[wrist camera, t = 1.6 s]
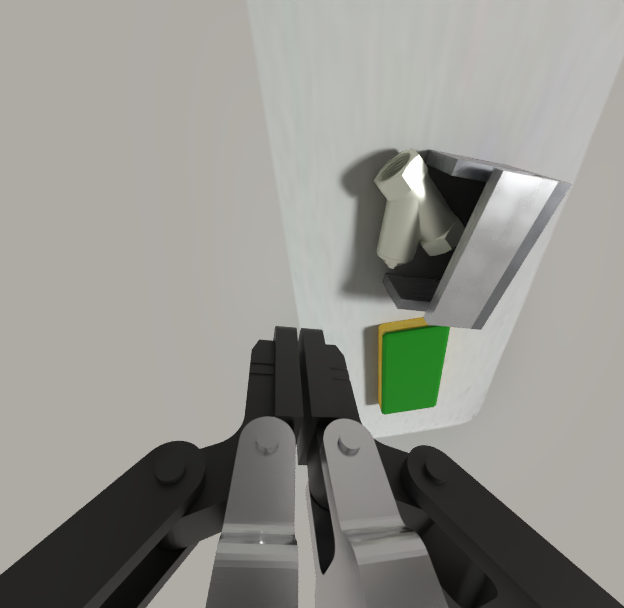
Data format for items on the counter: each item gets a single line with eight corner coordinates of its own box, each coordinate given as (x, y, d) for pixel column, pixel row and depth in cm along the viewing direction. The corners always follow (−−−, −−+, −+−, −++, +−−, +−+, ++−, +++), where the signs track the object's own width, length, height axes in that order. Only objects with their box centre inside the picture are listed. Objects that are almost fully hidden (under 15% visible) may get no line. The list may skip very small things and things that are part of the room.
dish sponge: (440, 311, 33) (451, 325, 31) (428, 392, 41) (436, 407, 39) (377, 321, 33) (383, 335, 31) (377, 400, 41) (382, 415, 39)
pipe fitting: (389, 263, 29) (452, 218, 27) (399, 285, 26) (472, 237, 24) (338, 203, 26) (406, 144, 23) (343, 221, 23) (422, 155, 20)
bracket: (429, 149, 23) (474, 164, 18) (507, 165, 25) (571, 184, 19) (382, 282, 30) (405, 322, 24) (446, 289, 31) (481, 329, 26)
